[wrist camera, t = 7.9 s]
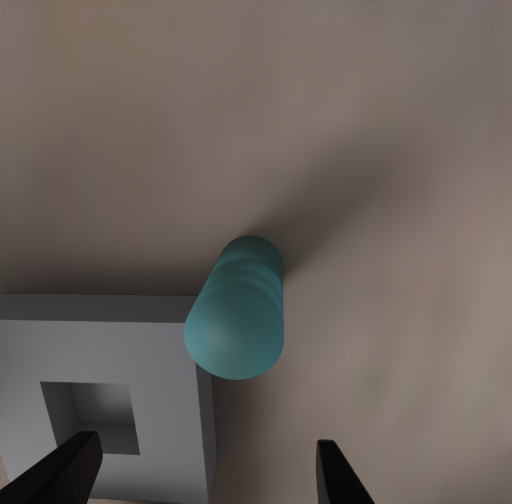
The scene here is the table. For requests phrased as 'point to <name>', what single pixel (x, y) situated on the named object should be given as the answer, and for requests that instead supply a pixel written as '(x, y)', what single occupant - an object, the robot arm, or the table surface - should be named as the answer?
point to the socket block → (108, 391)
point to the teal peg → (239, 312)
